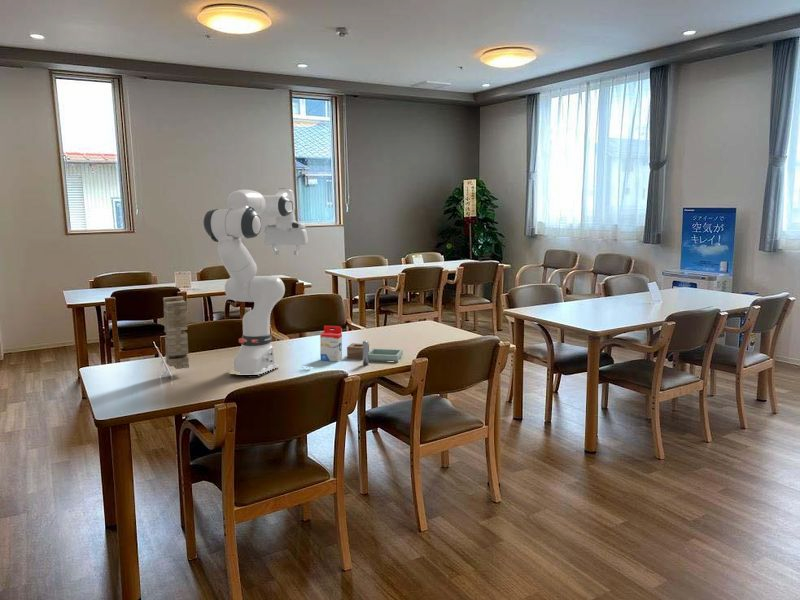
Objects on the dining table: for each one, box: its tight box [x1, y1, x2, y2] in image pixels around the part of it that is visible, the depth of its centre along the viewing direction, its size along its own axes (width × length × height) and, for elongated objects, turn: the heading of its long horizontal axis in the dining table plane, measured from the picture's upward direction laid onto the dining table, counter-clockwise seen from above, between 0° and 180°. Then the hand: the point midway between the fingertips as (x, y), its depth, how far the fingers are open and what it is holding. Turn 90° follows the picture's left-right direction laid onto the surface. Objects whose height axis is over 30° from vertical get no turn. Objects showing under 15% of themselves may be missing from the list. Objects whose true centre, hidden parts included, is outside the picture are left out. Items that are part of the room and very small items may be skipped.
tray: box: [368, 348, 404, 363], centre depth 265 cm, size 12×14×3 cm
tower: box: [162, 295, 190, 370], centre depth 250 cm, size 8×8×29 cm
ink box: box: [319, 325, 343, 362], centre depth 263 cm, size 8×5×15 cm, turn 76°
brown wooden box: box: [346, 342, 370, 360], centre depth 269 cm, size 8×8×5 cm
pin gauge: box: [362, 340, 370, 366], centre depth 254 cm, size 2×2×10 cm
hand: (286, 254), depth 279 cm, fingers open, 8 cm apart
